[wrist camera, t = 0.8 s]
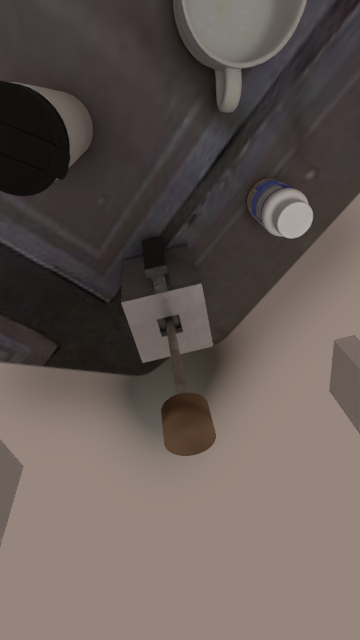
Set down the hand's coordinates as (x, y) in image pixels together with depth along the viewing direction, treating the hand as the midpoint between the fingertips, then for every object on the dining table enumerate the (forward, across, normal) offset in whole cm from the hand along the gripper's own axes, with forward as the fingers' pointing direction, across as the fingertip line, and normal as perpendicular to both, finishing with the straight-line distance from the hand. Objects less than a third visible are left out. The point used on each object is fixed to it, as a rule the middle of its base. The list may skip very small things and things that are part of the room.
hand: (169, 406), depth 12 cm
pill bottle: (+34, +16, -4) cm, 38 cm away
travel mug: (+35, -6, +9) cm, 36 cm away
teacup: (+34, +12, +14) cm, 39 cm away
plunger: (+25, 0, -12) cm, 28 cm away
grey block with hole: (+34, 0, -11) cm, 36 cm away
